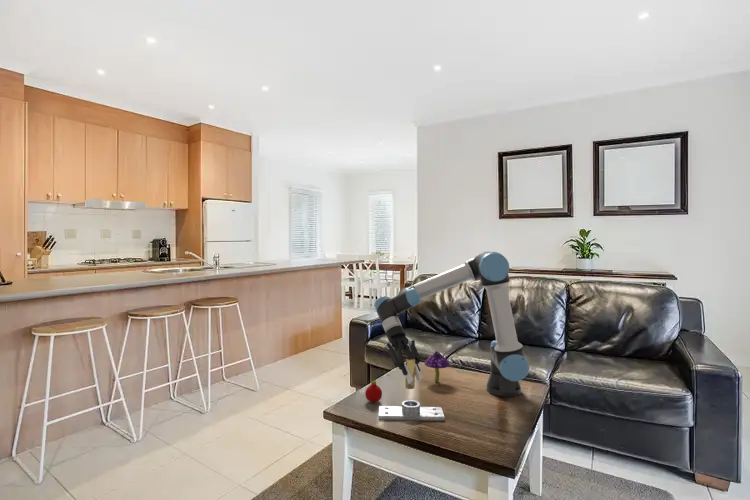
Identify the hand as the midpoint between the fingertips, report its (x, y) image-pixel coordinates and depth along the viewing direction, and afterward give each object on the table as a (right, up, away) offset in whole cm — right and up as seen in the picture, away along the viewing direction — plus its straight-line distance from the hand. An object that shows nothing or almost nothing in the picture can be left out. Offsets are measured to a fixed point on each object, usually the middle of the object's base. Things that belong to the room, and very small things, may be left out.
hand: (415, 381), depth 155 cm
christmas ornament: (-16, -14, +16) cm, 27 cm away
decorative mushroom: (+15, -14, +42) cm, 46 cm away
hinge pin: (-2, -4, +3) cm, 5 cm away
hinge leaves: (-2, -14, +4) cm, 15 cm away
